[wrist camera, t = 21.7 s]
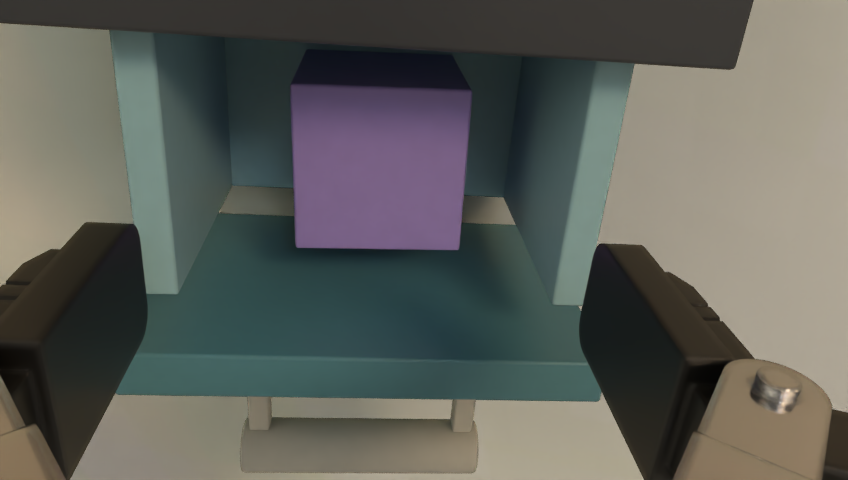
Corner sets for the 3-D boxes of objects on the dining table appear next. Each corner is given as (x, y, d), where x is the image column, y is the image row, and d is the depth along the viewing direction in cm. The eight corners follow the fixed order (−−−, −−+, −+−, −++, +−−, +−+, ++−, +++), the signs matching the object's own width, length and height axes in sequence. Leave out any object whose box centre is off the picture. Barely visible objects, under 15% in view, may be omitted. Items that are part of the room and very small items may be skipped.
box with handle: (513, 371, 26) (566, 544, 19) (203, 365, 25) (137, 547, 18) (607, -200, 18) (761, -271, 11) (153, -247, 17) (-5, -359, 10)
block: (308, 187, 21) (294, 249, 17) (305, 48, 19) (288, 83, 15) (443, 190, 21) (459, 251, 17) (453, 54, 19) (473, 90, 16)
